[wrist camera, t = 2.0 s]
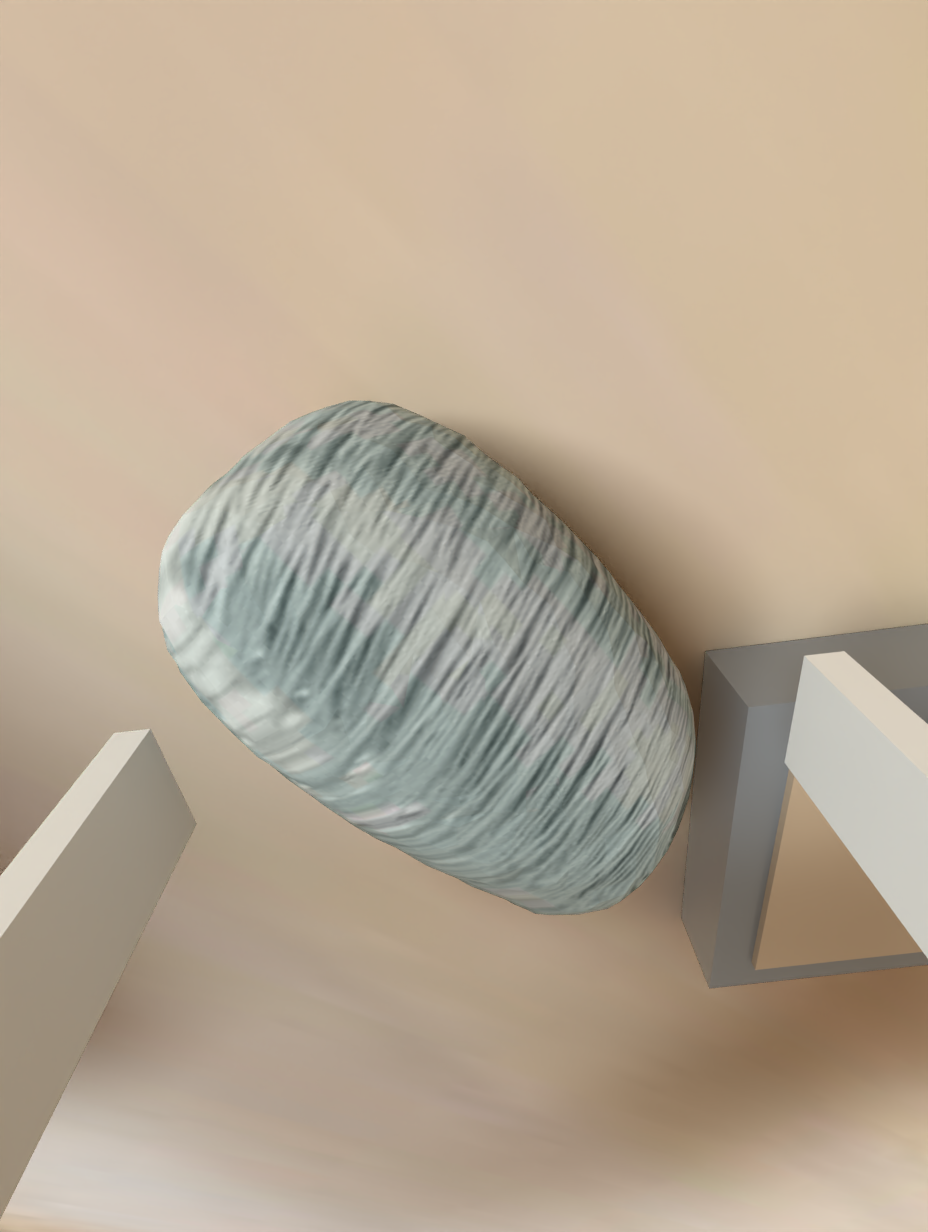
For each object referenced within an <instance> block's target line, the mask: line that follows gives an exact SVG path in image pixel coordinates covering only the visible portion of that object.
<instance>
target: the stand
mask: <svg viewBox="0 0 928 1232" xmlns="http://www.w3.org/2000/svg"><path fill="white" fill-rule="evenodd" d="M841 651H845V652H846V653H847V654H848V655H849V656H850V657H852V658H853V659H854V660H855V661H856V662H857V663H858V664H860V665H861V666H862V667H863V668H864V669H865V670H866V671H868V672H869V673H870V674H871V675H872V676H873V677H874V678H876V679H877V680H878V681H879V682H880V683H881V684H882V685H884V686H885V687H886V688H887V689H888V690H889V691H890V692H892V693H893V694H894V695H895V696H896V697H897V698H898V699H900V700H901V701H902V702H903V703H904V704H905V705H906V706H908V707H909V708H910V709H911V710H912V711H913V712H914V713H916V714H917V715H918V716H919V717H920V718H921V719H922V720H924V721H925V722H926V723H927V724H928V624H922V625H914V626H906V627H898V628H890V629H882V630H874V631H866V632H858V633H850V634H841V635H833V636H825V637H817V638H809V639H801V640H793V641H785V642H777V643H769V644H761V645H753V646H744V647H736V648H728V649H720V650H712V651H705V660H704V671H703V682H702V693H701V704H700V715H699V727H698V738H697V749H696V760H695V771H694V782H693V793H692V804H691V815H690V826H689V837H688V849H687V860H686V871H685V882H684V893H683V904H682V915H681V918H682V921H683V923H684V926H685V929H686V931H687V934H688V936H689V939H690V941H691V944H692V946H693V949H694V951H695V954H696V956H697V959H698V961H699V964H700V966H701V969H702V972H703V974H704V977H705V979H706V982H707V984H708V987H709V988H718V987H727V986H736V985H745V984H755V983H764V982H773V981H782V980H792V979H801V978H810V977H819V976H828V975H838V974H847V973H856V972H865V971H875V970H884V969H893V968H902V967H911V966H921V965H928V958H927V957H926V956H925V954H924V953H923V951H922V950H921V949H920V947H919V946H918V945H917V943H916V942H915V940H914V939H913V938H912V936H911V935H910V934H909V932H908V931H907V930H906V928H905V927H904V925H903V924H902V923H901V921H900V920H899V919H898V917H897V916H896V914H895V913H894V912H893V910H892V909H891V908H890V906H889V905H888V904H887V902H886V901H885V899H884V898H883V897H882V895H881V894H880V893H879V891H878V890H877V888H876V887H875V886H874V884H873V883H872V882H871V880H870V879H869V878H868V876H867V875H866V873H865V872H864V871H863V869H862V868H861V867H860V865H859V864H858V862H857V861H856V860H855V858H854V857H853V856H852V854H851V853H850V852H849V850H848V849H847V847H846V846H845V845H844V843H843V842H842V841H841V839H840V838H839V836H838V835H837V834H836V832H835V831H834V830H833V828H832V827H831V826H830V824H829V823H828V821H827V820H826V819H825V817H824V816H823V815H822V813H821V812H820V810H819V809H818V808H817V806H816V805H815V804H814V802H813V801H812V800H811V798H810V797H809V795H808V794H807V793H806V791H805V790H804V789H803V787H802V786H801V784H800V783H799V782H798V780H797V779H796V778H795V776H794V775H793V774H792V772H791V771H790V769H789V768H788V767H787V765H786V764H785V763H784V762H785V757H786V751H787V746H788V741H789V735H790V730H791V724H792V719H793V713H794V708H795V703H796V697H797V692H798V686H799V681H800V676H801V670H802V665H803V659H804V656H806V655H815V654H823V653H832V652H841Z"/></svg>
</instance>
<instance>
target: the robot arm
mask: <svg viewBox="0 0 928 1232" xmlns="http://www.w3.org/2000/svg"><path fill="white" fill-rule="evenodd" d="M784 763H785V764H786V765H787V767H788V768H789V769H790V771H791V772H792V774H793V775H794V776H795V778H796V779H797V780H798V782H799V783H800V784H801V786H802V787H803V789H804V790H805V791H806V793H807V794H808V795H809V797H810V798H811V800H812V801H813V802H814V804H815V805H816V806H817V808H818V809H819V810H820V812H821V813H822V815H823V816H824V817H825V819H826V820H827V821H828V823H829V824H830V826H831V827H832V828H833V830H834V831H835V832H836V834H837V835H838V836H839V838H840V839H841V841H842V842H843V843H844V845H845V846H846V847H847V849H848V850H849V852H850V853H851V854H852V856H853V857H854V858H855V860H856V861H857V862H858V864H859V865H860V867H861V868H862V869H863V871H864V872H865V873H866V875H867V876H868V878H869V879H870V880H871V882H872V883H873V884H874V886H875V887H876V888H877V890H878V891H879V893H880V894H881V895H882V897H883V898H884V899H885V901H886V902H887V904H888V905H889V906H890V908H891V909H892V910H893V912H894V913H895V914H896V916H897V917H898V919H899V920H900V921H901V923H902V924H903V925H904V927H905V928H906V930H907V931H908V932H909V934H910V935H911V936H912V938H913V939H914V940H915V942H916V943H917V945H918V946H919V947H920V949H921V950H922V951H923V953H924V954H925V956H926V957H927V958H928V724H927V723H926V722H925V721H924V720H922V719H921V718H920V717H919V716H918V715H917V714H916V713H914V712H913V711H912V710H911V709H910V708H909V707H908V706H906V705H905V704H904V703H903V702H902V701H901V700H900V699H898V698H897V697H896V696H895V695H894V694H893V693H892V692H890V691H889V690H888V689H887V688H886V687H885V686H884V685H882V684H881V683H880V682H879V681H878V680H877V679H876V678H874V677H873V676H872V675H871V674H870V673H869V672H868V671H866V670H865V669H864V668H863V667H862V666H861V665H860V664H858V663H857V662H856V661H855V660H854V659H853V658H852V657H850V656H849V655H848V654H847V653H846V652H845V651H841V652H832V653H823V654H815V655H806V656H804V659H803V665H802V670H801V676H800V681H799V686H798V692H797V697H796V703H795V708H794V713H793V719H792V724H791V730H790V735H789V741H788V746H787V751H786V757H785V762H784ZM195 826H196V822H195V820H194V818H193V815H192V813H191V811H190V809H189V807H188V805H187V803H186V801H185V799H184V797H183V795H182V793H181V791H180V789H179V787H178V785H177V782H176V780H175V778H174V776H173V774H172V772H171V770H170V768H169V766H168V764H167V762H166V760H165V758H164V756H163V754H162V752H161V750H160V747H159V745H158V743H157V741H156V739H155V737H154V735H153V733H152V731H151V729H144V730H135V731H126V732H117V733H114V734H113V735H112V736H111V737H110V739H109V740H108V741H107V743H106V744H105V745H104V746H103V748H102V749H101V750H100V751H99V753H98V754H97V755H96V756H95V758H94V759H93V760H92V761H91V763H90V764H89V765H88V766H87V768H86V769H85V770H84V771H83V773H82V774H81V775H80V776H79V778H78V779H77V780H76V781H75V783H74V784H73V785H72V786H71V788H70V789H69V790H68V791H67V793H66V794H65V795H64V796H63V798H62V799H61V800H60V802H59V803H58V804H57V805H56V807H55V808H54V809H53V810H52V812H51V813H50V814H49V815H48V817H47V818H46V819H45V820H44V822H43V823H42V824H41V825H40V827H39V828H38V829H37V830H36V832H35V833H34V834H33V835H32V837H31V838H30V839H29V840H28V842H27V843H26V844H25V845H24V847H23V848H22V849H21V850H20V852H19V853H18V854H17V856H16V857H15V858H14V859H13V861H12V862H11V863H10V864H9V866H8V867H7V868H6V869H5V871H4V872H3V873H2V874H1V876H0V1219H1V1217H2V1215H3V1213H4V1211H5V1209H6V1207H7V1205H8V1203H9V1201H10V1199H11V1197H12V1195H13V1193H14V1191H15V1189H16V1187H17V1185H18V1183H19V1181H20V1179H21V1177H22V1175H23V1173H24V1171H25V1168H26V1166H27V1164H28V1162H29V1160H30V1158H31V1156H32V1154H33V1152H34V1150H35V1148H36V1146H37V1144H38V1142H39V1140H40V1138H41V1136H42V1134H43V1132H44V1130H45V1128H46V1126H47V1124H48V1122H49V1120H50V1118H51V1116H52V1114H53V1112H54V1110H55V1108H56V1106H57V1104H58V1102H59V1100H60V1098H61V1096H62V1094H63V1092H64V1090H65V1088H66V1086H67V1084H68V1082H69V1080H70V1078H71V1076H72V1074H73V1072H74V1070H75V1068H76V1066H77V1064H78V1062H79V1060H80V1058H81V1056H82V1054H83V1052H84V1050H85V1048H86V1046H87V1044H88V1042H89V1040H90V1038H91V1035H92V1033H93V1031H94V1029H95V1027H96V1025H97V1023H98V1021H99V1019H100V1017H101V1015H102V1013H103V1011H104V1009H105V1007H106V1005H107V1003H108V1001H109V999H110V997H111V995H112V993H113V991H114V989H115V987H116V985H117V983H118V981H119V979H120V977H121V975H122V973H123V971H124V969H125V967H126V965H127V963H128V961H129V959H130V957H131V955H132V953H133V951H134V949H135V947H136V945H137V943H138V941H139V939H140V937H141V935H142V933H143V931H144V929H145V927H146V925H147V923H148V921H149V919H150V917H151V915H152V913H153V911H154V909H155V907H156V905H157V902H158V900H159V898H160V896H161V894H162V892H163V890H164V888H165V886H166V884H167V882H168V880H169V878H170V876H171V874H172V872H173V870H174V868H175V866H176V864H177V862H178V860H179V858H180V856H181V854H182V852H183V850H184V848H185V846H186V844H187V842H188V840H189V838H190V836H191V834H192V832H193V830H194V828H195Z"/></svg>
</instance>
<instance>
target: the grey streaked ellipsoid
mask: <svg viewBox="0 0 928 1232" xmlns="http://www.w3.org/2000/svg"><path fill="white" fill-rule="evenodd" d="M158 611H159V620H160V623H161V625H162V628H163V632H164V637H165V641H166V645H167V650H168V652H169V653H170V654H171V656H172V657H173V659H174V660H175V662H176V663H177V665H178V667H179V670H180V672H181V674H182V675H183V676H184V678H185V679H186V681H187V682H188V683H189V685H190V686H191V688H192V689H193V690H194V692H195V693H196V695H197V696H198V697H199V699H200V700H201V701H202V702H203V703H204V704H205V705H206V706H207V708H208V709H209V710H210V711H211V712H212V713H213V714H214V715H215V716H216V717H217V718H218V719H219V720H220V721H221V722H222V723H223V724H224V725H225V726H226V727H227V728H228V729H229V730H230V731H231V732H232V733H233V734H234V735H235V736H236V737H237V738H238V739H239V740H240V741H241V742H242V743H244V744H245V745H246V746H247V747H248V748H249V749H250V750H251V751H252V752H253V753H254V754H255V755H256V756H257V757H258V758H260V759H262V760H263V761H265V762H267V763H268V764H270V765H271V766H272V767H274V768H275V769H276V770H277V771H278V772H280V773H281V774H282V775H283V776H285V777H286V778H287V779H288V780H289V781H291V782H292V783H294V784H295V785H297V786H298V787H299V788H301V789H302V790H304V791H305V792H306V793H308V794H309V795H311V796H312V797H313V798H315V799H316V800H318V801H319V802H320V803H322V804H323V805H324V806H326V807H327V808H329V809H330V810H332V811H333V812H335V813H336V814H338V815H339V816H341V817H342V818H344V819H345V820H346V821H348V822H349V823H351V824H352V825H354V826H355V827H357V828H359V829H361V830H362V831H364V832H366V833H368V834H369V835H371V836H373V837H375V838H376V839H378V840H380V841H383V842H385V843H387V844H389V845H391V846H394V847H396V848H398V849H399V850H401V851H403V852H404V853H406V854H408V855H410V856H411V857H413V858H415V859H416V860H418V861H420V862H422V863H423V864H425V865H427V866H429V867H432V868H434V869H437V870H439V871H441V872H444V873H446V874H448V875H451V876H453V877H456V878H458V879H459V880H461V881H463V882H465V883H466V884H468V885H470V886H472V887H475V888H477V889H480V890H483V891H485V892H488V893H490V894H493V895H496V896H498V897H501V898H503V899H506V900H508V901H510V902H511V903H513V904H515V905H517V906H520V907H522V908H525V909H527V910H529V911H531V912H533V913H535V914H545V915H573V914H583V913H588V912H593V911H598V910H603V909H608V908H609V907H611V906H613V905H615V904H616V903H618V902H620V901H621V900H623V899H624V898H625V897H626V896H628V895H629V894H630V893H632V892H633V891H634V890H635V889H637V888H638V887H639V886H640V885H641V884H642V883H643V882H644V881H645V879H646V878H647V877H648V876H649V875H650V874H651V873H652V871H653V870H654V869H655V867H656V866H657V864H658V863H659V862H660V860H661V859H662V857H663V856H664V855H665V853H666V852H667V850H668V849H669V847H670V844H671V842H672V840H673V838H674V836H675V834H676V832H677V830H678V828H679V825H680V822H681V819H682V816H683V813H684V810H685V807H686V804H687V801H688V798H689V794H690V788H691V782H692V776H693V769H694V761H695V754H696V740H695V728H694V716H693V710H692V707H691V703H690V700H689V696H688V693H687V689H686V686H685V683H684V681H683V679H682V676H681V674H680V671H679V670H678V668H677V667H676V665H675V664H674V662H673V661H672V659H671V658H670V656H669V654H668V652H667V651H666V649H665V647H664V645H663V644H662V642H661V640H660V639H659V637H658V635H657V634H656V633H655V631H654V630H653V629H652V627H651V626H650V625H649V623H648V622H647V621H646V619H645V618H644V616H643V615H642V614H641V612H640V611H639V610H638V609H637V607H636V606H635V605H634V603H633V602H632V601H631V600H630V598H629V597H628V596H627V595H626V593H625V592H624V591H623V590H622V589H621V587H620V586H619V585H618V584H617V582H616V581H615V579H614V578H613V577H612V575H611V574H610V572H609V571H608V570H607V569H606V568H605V567H604V565H603V564H602V563H601V562H600V561H599V559H598V558H597V557H596V556H595V555H594V554H593V553H592V552H591V551H590V550H589V549H588V548H587V547H586V546H585V545H584V544H583V543H582V542H581V540H580V539H579V538H578V537H577V536H576V535H575V534H574V533H573V532H572V531H571V530H570V529H569V528H568V527H567V526H566V525H565V524H564V523H563V522H562V521H561V520H560V519H559V518H558V517H557V516H556V515H555V514H554V513H553V512H552V511H550V510H549V509H548V508H547V507H546V506H545V505H544V504H542V503H541V502H540V501H539V500H538V499H537V498H536V497H535V496H533V495H532V493H531V492H530V491H529V490H528V489H527V488H526V487H525V486H524V484H523V483H522V482H521V481H520V480H519V479H518V478H517V477H516V476H514V475H513V474H511V473H510V472H509V471H507V470H506V469H504V468H503V467H502V466H500V465H499V464H497V463H496V462H495V461H493V460H492V459H491V458H489V457H488V456H487V455H485V454H484V453H483V452H482V451H481V450H480V449H479V448H477V447H476V446H475V445H474V444H473V443H472V442H470V441H469V440H468V439H467V438H466V437H465V436H463V435H461V434H459V433H457V432H455V431H453V430H450V429H448V428H446V427H444V426H442V425H440V424H438V423H436V422H433V421H431V420H429V419H427V418H425V417H423V416H420V415H418V414H416V413H414V412H411V411H409V410H406V409H404V408H402V407H399V406H397V405H394V404H389V403H381V402H373V401H347V402H343V403H340V404H336V405H332V406H329V407H326V408H323V409H320V410H317V411H314V412H311V413H309V414H307V415H304V416H302V417H300V418H298V419H295V420H293V421H291V422H289V423H288V424H286V425H285V426H283V427H282V428H281V429H279V430H278V431H277V432H275V433H274V434H273V435H271V436H270V437H269V438H268V439H266V440H265V441H264V442H262V443H261V444H259V445H258V446H257V447H255V448H254V449H252V450H251V451H250V452H248V453H247V454H246V455H244V456H243V457H242V458H241V460H240V461H239V462H238V463H237V464H236V465H235V466H234V467H233V468H232V469H231V470H230V471H229V472H228V473H227V474H225V475H224V476H223V477H221V478H220V479H219V480H217V481H216V482H215V483H213V484H212V485H211V486H210V487H209V488H208V489H207V490H206V491H205V492H204V493H203V494H202V496H201V497H200V498H199V499H198V500H197V501H196V502H195V503H194V504H193V505H192V506H191V507H190V508H189V509H188V510H187V511H186V512H185V513H184V514H183V515H182V517H181V518H180V520H179V521H178V523H177V524H176V526H175V527H174V529H173V530H172V532H171V533H170V535H169V536H168V539H167V541H166V543H165V546H164V548H163V551H162V556H161V562H160V568H159V584H158Z"/></svg>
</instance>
